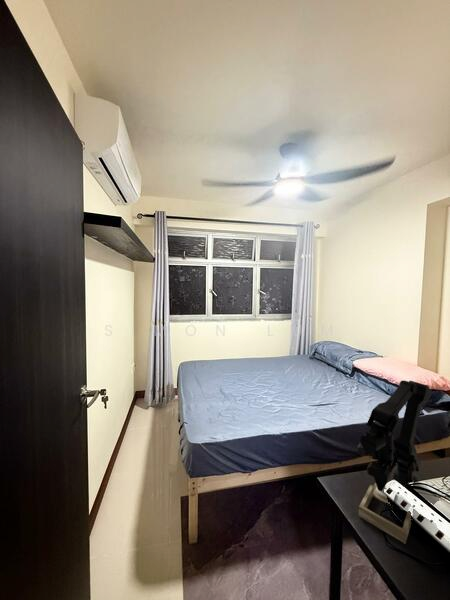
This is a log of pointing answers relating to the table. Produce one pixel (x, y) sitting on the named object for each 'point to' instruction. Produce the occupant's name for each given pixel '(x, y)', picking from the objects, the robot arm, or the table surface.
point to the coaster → (379, 496)
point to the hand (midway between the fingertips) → (383, 483)
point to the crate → (383, 519)
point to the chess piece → (381, 493)
